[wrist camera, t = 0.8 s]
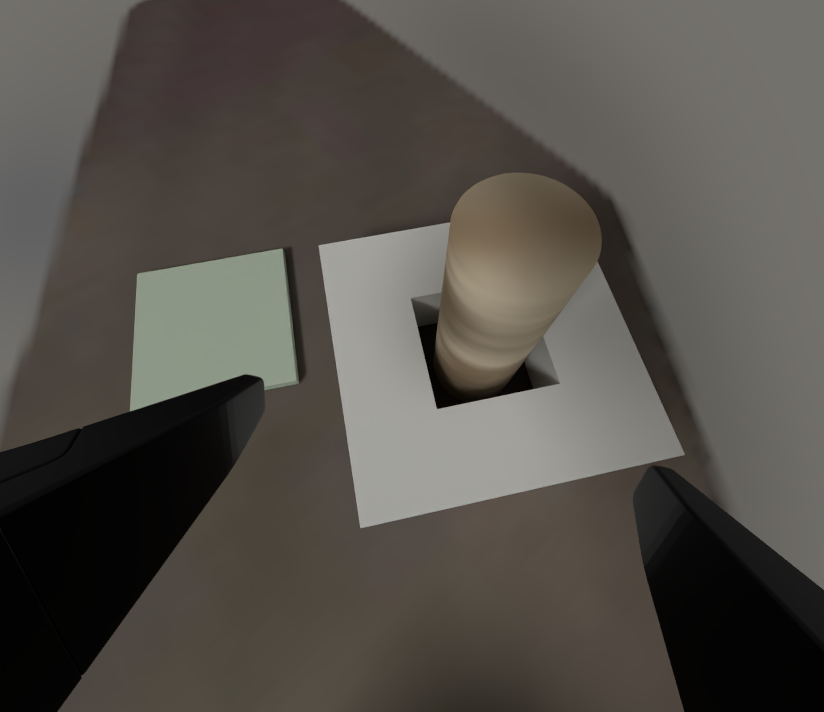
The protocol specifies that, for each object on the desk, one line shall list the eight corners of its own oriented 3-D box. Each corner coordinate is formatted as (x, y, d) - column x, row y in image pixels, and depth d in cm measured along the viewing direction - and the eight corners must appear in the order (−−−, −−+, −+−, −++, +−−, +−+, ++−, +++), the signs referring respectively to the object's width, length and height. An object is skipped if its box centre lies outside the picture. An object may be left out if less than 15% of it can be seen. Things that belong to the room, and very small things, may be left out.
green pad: (299, 383, 25) (296, 380, 24) (136, 415, 24) (129, 413, 23) (284, 253, 28) (282, 248, 28) (143, 278, 28) (137, 273, 27)
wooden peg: (521, 393, 24) (626, 280, 12) (443, 409, 24) (471, 309, 12) (498, 322, 26) (570, 162, 14) (425, 336, 26) (434, 185, 14)
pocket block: (640, 463, 23) (684, 454, 19) (369, 524, 22) (360, 528, 18) (550, 241, 28) (570, 201, 25) (331, 281, 27) (318, 245, 24)
